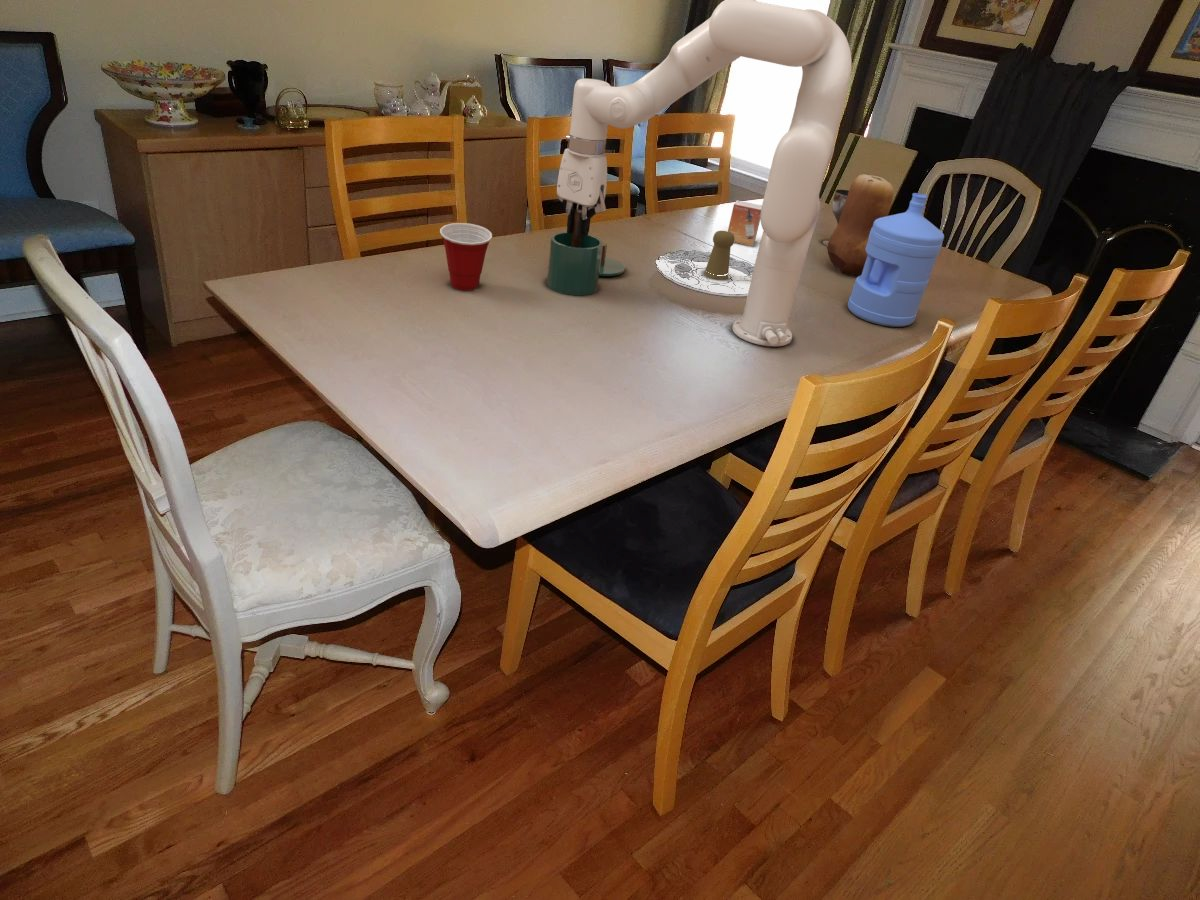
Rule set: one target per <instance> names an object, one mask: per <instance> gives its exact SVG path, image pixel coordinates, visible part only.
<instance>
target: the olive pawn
mask: <svg viewBox="0 0 1200 900" xmlns="http://www.w3.org/2000/svg"><path fill="white" fill-rule="evenodd" d="M734 240H735V238H734V235H733V234H732V233H730V232H728V230H718V231H716V232H715V233H714V234H713V236H712V242H713V246H712V248H711V253H710V255H709V258H708V261H707V264H706V267H705V270H704V273H703V274H704V276H705V277H707V278H709V279H712V280H717V281H725V280H728V278H729V273H730V271H729V270H730V259H731V248H732V247H733V245H734V244H735V242H734ZM706 271H707V272H706ZM708 272H709V273H708ZM710 273H711V274H710ZM727 273H728V275H726V276H717V275H724V274H727ZM713 274H714V275H713Z"/></svg>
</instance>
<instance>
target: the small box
mask: <svg viewBox="0 0 1200 900" xmlns="http://www.w3.org/2000/svg"><path fill="white" fill-rule="evenodd" d="M761 209H762V204H756V203H752V202H746V201H741V200H737V199H736V200H735V202H734V204H733V206H732V211H731V215H730V219H729V224H728V228H727V232H730V233H732V234H733V235H734V238H735V240H734V243H735V244H740V245H743V246H748V247H753V246H754V244H755V242H756V239H757V235H758V230H759V228H760V224H761V219H760V215H761Z"/></svg>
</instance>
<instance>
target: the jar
mask: <svg viewBox="0 0 1200 900" xmlns="http://www.w3.org/2000/svg"><path fill="white" fill-rule="evenodd" d="M571 241H572V233H570V234H569V233H567V231H562V232H561V231H560V232H556V233H553V234H552V235H551V236H550V242H549V253H548V265H547V276H546V277H547V278H546V284H547V286H548V287H549V289H551V290H553V291H555V292H557V293H561V294H565V295H571V296H587V295H591V294H594V293H596V292H597V291H598V287H599V279H600V276H599V272H600V264H601V256H602V248H603V243H604V242H603V241H602V240H601V239H600V238H599V237H597V236H594V235H592V234H588V235H587V236H584V237H582V242H581V248H576V247H571Z"/></svg>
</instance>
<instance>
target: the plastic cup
mask: <svg viewBox="0 0 1200 900" xmlns="http://www.w3.org/2000/svg"><path fill="white" fill-rule="evenodd" d="M439 235H440V236H441V237H442V241H443V246H444V249H445V256H446V263H447V269H448V272H449V273H448V274H449V280H450V284H451V286H452V288H454V289H456V290H461V291H473V290H475V289H477V288H478V287H479V285H480V281H481V280H480V279H481V274H482V272H483V268H484V263H485V258H486V254H487V250H488V246H489V244H490V242H491V240H492V239H493V233H492V232H491V231H490V230H489V229H488V228H487V227H484V226H482V225H478V224H474V223H468V222H454V223H447V224H445V225H443V226H442V227H441V228H439Z"/></svg>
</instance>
